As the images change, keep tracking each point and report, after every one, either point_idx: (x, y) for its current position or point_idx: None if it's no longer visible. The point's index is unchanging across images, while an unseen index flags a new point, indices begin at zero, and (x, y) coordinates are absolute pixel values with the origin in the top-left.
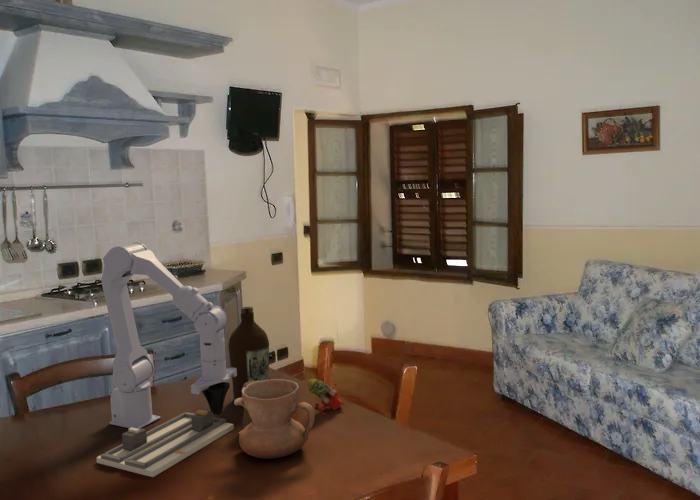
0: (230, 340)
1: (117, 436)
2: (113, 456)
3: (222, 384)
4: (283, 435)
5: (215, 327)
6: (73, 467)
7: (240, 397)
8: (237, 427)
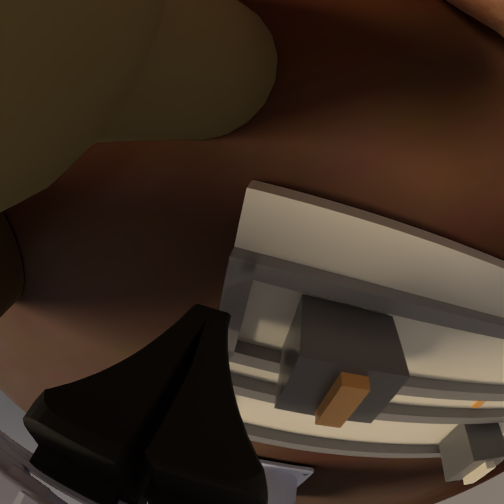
0: None
1: (350, 476)
2: None
3: (91, 469)
4: None
5: None
6: None
7: (4, 279)
8: (224, 168)
